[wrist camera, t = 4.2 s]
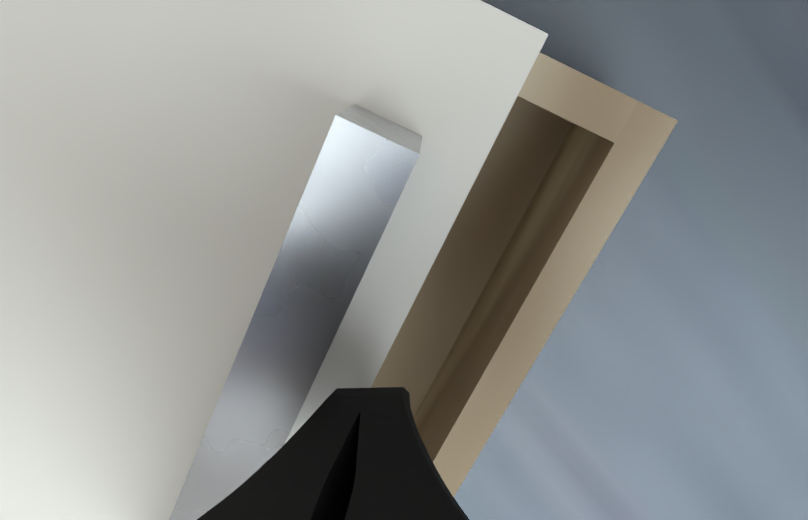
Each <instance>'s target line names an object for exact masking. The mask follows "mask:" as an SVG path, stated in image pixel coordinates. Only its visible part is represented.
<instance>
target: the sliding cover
mask: <svg viewBox="0 0 808 520" xmlns="http://www.w3.org/2000/svg"><path fill="white" fill-rule="evenodd" d="M548 35H549V34H547V33H545V32H543V31H541V30H539V29H537V28H535V27H533V26H531V25H529V24H527V23H525V22H523V21H521V20H519V19H517V18H515V17H513V16H511V15H509V14H507V13H505V12H503V11H501V10H499V9H497V8H495V7H493V6H491V5H489V4H487V3H485V2H483V1H481V0H0V520H197V519H198V518H199V517H201V516H202V515H203V514H205V513H206V512H207V511H209V510H210V509H211V508H213V507H214V506H215V505H217V504H218V503H219V502H221V501H222V500H223V499H225V498H226V497H227V496H228V495H230V494H231V493H232V492H233V491H235V490H236V489H237V488H238V487H239V486H240V485H242V484H243V483H244V482H245V481H246V480H247V479H248V478H250V477H251V476H252V475H253V474H254V473H255V472H256V471H257V470H258V469H259V468H260V467H261V466H263V465H264V464H265V463H266V462H267V461H268V460H269V459H270V458H271V457H272V456H273V455H274V454H275V453H276V452H277V451H278V450H279V449H280V448H281V447H282V446H283V445H284V444H285V443H286V442H287V441H288V440H289V439H290V438H291V437H292V436H293V435H294V434H295V433H296V432H297V431H298V430H299V429H300V428H301V426H302V425H303V424H304V423H305V422H306V421H307V420H308V419H309V418H310V417H311V415H312V414H313V413H314V412H315V411H316V410H317V409H318V408H319V407H320V405H321V404H322V403H323V402H324V401H325V400H326V399H327V398H328V397H329V396H330V395H331V394H332V393H333V392H334V391H335V390H336V389H337V388H371V386H372V384H373V382H374V380H375V378H376V376H377V374H378V372H379V370H380V368H381V366H382V364H383V362H384V360H385V358H386V356H387V354H388V352H389V350H390V348H391V346H392V344H393V342H394V340H395V338H396V336H397V334H398V332H399V330H400V328H401V326H402V324H403V322H404V320H405V318H406V316H407V315H408V313H409V311H410V309H411V307H412V305H413V303H414V301H415V299H416V297H417V295H418V293H419V291H420V289H421V287H422V285H423V283H424V281H425V279H426V277H427V275H428V273H429V271H430V269H431V267H432V265H433V263H434V261H435V259H436V257H437V255H438V253H439V251H440V249H441V247H442V245H443V243H444V241H445V239H446V237H447V235H448V233H449V231H450V229H451V227H452V225H453V223H454V221H455V219H456V217H457V215H458V213H459V211H460V209H461V207H462V205H463V203H464V201H465V199H466V197H467V195H468V193H469V191H470V189H471V187H472V185H473V183H474V182H475V180H476V178H477V176H478V174H479V172H480V170H481V168H482V166H483V164H484V162H485V160H486V158H487V156H488V154H489V152H490V150H491V148H492V146H493V144H494V142H495V140H496V138H497V136H498V134H499V132H500V130H501V128H502V126H503V124H504V122H505V120H506V118H507V116H508V114H509V112H510V110H511V108H512V106H513V104H514V102H515V100H516V98H517V96H518V94H519V92H520V90H521V88H522V86H523V84H524V82H525V80H526V78H527V76H528V74H529V72H530V70H531V68H532V66H533V64H534V62H535V60H536V58H537V56H538V54H539V52H540V50H541V49H542V47H543V45H544V43H545V41H546V39H547V37H548Z"/></svg>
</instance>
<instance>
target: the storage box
mask: <svg viewBox="0 0 808 520" xmlns="http://www.w3.org/2000/svg"><path fill="white" fill-rule="evenodd" d="M677 122H678V120H676V119H674V118H672V117H669V116H667V115H665V114H663V113H661V112H659V111H657V110H655V109H653V108H651V107H649V106H647V105H645V104H643V103H641V102H639V101H637V100H635V99H633V98H631V97H629V96H627V95H625V94H623V93H621V92H619V91H617V90H615V89H613V88H611V87H609V86H607V85H605V84H603V83H601V82H599V81H597V80H595V79H593V78H591V77H589V76H587V75H585V74H583V73H581V72H579V71H577V70H575V69H573V68H571V67H569V66H567V65H565V64H563V63H561V62H558V61H556V60H554V59H552V58H550V57H548V56H546V55H544V54H542V53H540V52H539V54H538V56H537V58H536V60H535V62H534V64H533V66H532V68H531V70H530V72H529V74H528V76H527V78H526V80H525V82H524V84H523V86H522V88H521V90H520V92H519V94H518V96H517V98H516V100H515V102H514V104H513V106H512V108H511V110H510V112H509V114H508V116H507V118H506V120H505V122H504V124H503V126H502V128H501V130H500V132H499V134H498V136H497V138H496V140H495V142H494V144H493V146H492V148H491V150H490V152H489V154H488V156H487V158H486V160H485V162H484V164H483V166H482V168H481V170H480V172H479V174H478V176H477V178H476V180H475V182H474V183H473V185H472V187H471V189H470V191H469V193H468V195H467V197H466V199H465V201H464V203H463V205H462V207H461V209H460V211H459V213H458V215H457V217H456V219H455V221H454V223H453V225H452V227H451V229H450V231H449V233H448V235H447V237H446V239H445V241H444V243H443V245H442V247H441V249H440V251H439V253H438V255H437V257H436V259H435V261H434V263H433V265H432V267H431V269H430V271H429V273H428V275H427V277H426V279H425V281H424V283H423V285H422V287H421V289H420V291H419V293H418V295H417V297H416V299H415V301H414V303H413V305H412V307H411V309H410V311H409V313H408V315H407V316H406V318H405V320H404V322H403V324H402V326H401V328H400V330H399V332H398V334H397V336H396V338H395V340H394V342H393V344H392V346H391V348H390V350H389V352H388V354H387V356H386V358H385V360H384V362H383V364H382V366H381V368H380V370H379V372H378V374H377V376H376V378H375V380H374V382H373V384H372V386H371V388H377V387H404V388H405V389H406V390H407V391H408V392H409V393H410V407H411V411H412V415H413V418H414V421H415V424H416V427H417V429H418V432H419V434H420V437H421V439H422V441H423V443H424V445H425V447H426V449H427V452H428V454H429V456H430V458H431V460H432V462H433V464H434V465H435V467H436V469H437V471H438V473H439V474H440V476H441V478H442V480H443V481H444V483H445V485H446V486H447V488H448V490H449V491H450V493H451V494H452V496H453V497H454V496H455V494H456V492H457V491H458V489H459V487H460V486H461V484H462V482H463V481H464V479H465V477H466V476H467V474H468V472H469V471H470V469H471V467H472V465H473V464H474V462H475V460H476V459H477V457H478V455H479V454H480V452H481V450H482V449H483V447H484V445H485V444H486V442H487V440H488V439H489V437H490V435H491V434H492V432H493V430H494V429H495V427H496V425H497V424H498V422H499V420H500V419H501V417H502V415H503V413H504V412H505V410H506V408H507V407H508V405H509V403H510V402H511V400H512V398H513V397H514V395H515V393H516V392H517V390H518V388H519V387H520V385H521V383H522V382H523V380H524V378H525V377H526V375H527V373H528V372H529V370H530V368H531V367H532V365H533V363H534V362H535V360H536V358H537V356H538V355H539V353H540V351H541V350H542V348H543V346H544V345H545V343H546V341H547V340H548V338H549V336H550V335H551V333H552V331H553V330H554V328H555V326H556V325H557V323H558V321H559V320H560V318H561V316H562V315H563V313H564V311H565V310H566V308H567V306H568V304H569V303H570V301H571V299H572V298H573V296H574V294H575V293H576V291H577V289H578V288H579V286H580V284H581V283H582V281H583V279H584V278H585V276H586V274H587V273H588V271H589V269H590V268H591V266H592V264H593V263H594V261H595V259H596V258H597V256H598V254H599V252H600V251H601V249H602V247H603V246H604V244H605V242H606V241H607V239H608V237H609V236H610V234H611V232H612V231H613V229H614V227H615V226H616V224H617V222H618V221H619V219H620V217H621V216H622V214H623V212H624V211H625V209H626V207H627V206H628V204H629V202H630V201H631V199H632V197H633V195H634V194H635V192H636V190H637V189H638V187H639V185H640V184H641V182H642V180H643V179H644V177H645V175H646V174H647V172H648V170H649V169H650V167H651V165H652V164H653V162H654V160H655V159H656V157H657V155H658V154H659V152H660V150H661V149H662V147H663V145H664V143H665V142H666V140H667V138H668V137H669V135H670V133H671V132H672V130H673V128H674V127H675V125H676V123H677Z"/></svg>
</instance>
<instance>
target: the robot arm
mask: <svg viewBox="0 0 808 520" xmlns="http://www.w3.org/2000/svg"><path fill="white" fill-rule="evenodd" d="M197 520H469V519H468V517H467V516H466V515H465V513H464V512H463V510H462V509H461V508H460V506H459V505H458V503H457V502H456V500H455V499H454V497H453V496H452V494H451V493H450V491H449V490H448V488H447V486H446V485H445V483H444V481H443V480H442V478H441V476H440V474H439V473H438V471H437V469H436V467H435V465H434V464H433V462H432V460H431V458H430V456H429V454H428V452H427V449H426V447H425V445H424V443H423V441H422V439H421V437H420V434H419V432H418V429H417V427H416V424H415V421H414V418H413V415H412V411H411V407H410V393H409V392H408V391H407V390H406V389H405V388H404V387H377V388H337V389H336V390H335V391H334V392H333V393H332V394H331V395H330V396H329V397H328V398H327V399H326V400H325V401H324V402H323V403H322V404H321V405H320V407H319V408H318V409H317V410H316V411H315V412H314V413H313V414H312V415H311V417H310V418H309V419H308V420H307V421H306V422H305V423H304V424H303V425H302V426H301V428H300V429H299V430H298V431H297V432H296V433H295V434H294V435H293V436H292V437H291V438H290V439H289V440H288V441H287V442H286V443H285V444H284V445H283V446H282V447H281V448H280V449H279V450H278V451H277V452H276V453H275V454H274V455H273V456H272V457H271V458H270V459H269V460H268V461H267V462H266V463H265V464H264V465H263V466H261V467H260V468H259V469H258V470H257V471H256V472H255V473H254V474H253V475H252V476H251V477H250V478H248V479H247V480H246V481H245V482H244V483H243V484H242V485H240V486H239V487H238V488H237V489H236V490H235V491H233V492H232V493H231V494H230V495H228V496H227V497H226V498H225V499H223V500H222V501H221V502H219V503H218V504H217V505H215V506H214V507H213V508H211V509H210V510H209V511H207V512H206V513H205V514H203V515H202V516H201V517H199V518H198V519H197Z"/></svg>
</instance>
